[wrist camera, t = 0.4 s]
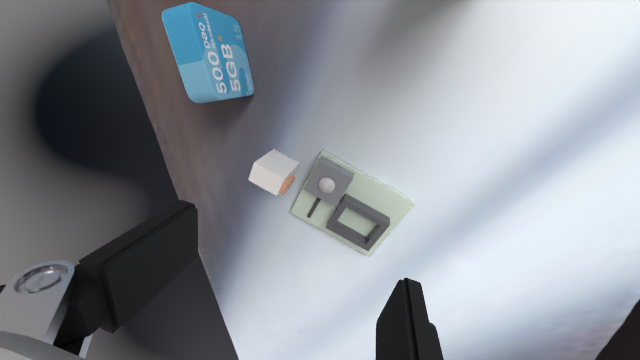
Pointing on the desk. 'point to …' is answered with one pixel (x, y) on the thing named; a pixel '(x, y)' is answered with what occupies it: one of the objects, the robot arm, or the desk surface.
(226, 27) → the data package
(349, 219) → the board
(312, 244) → the desk surface
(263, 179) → the plug
